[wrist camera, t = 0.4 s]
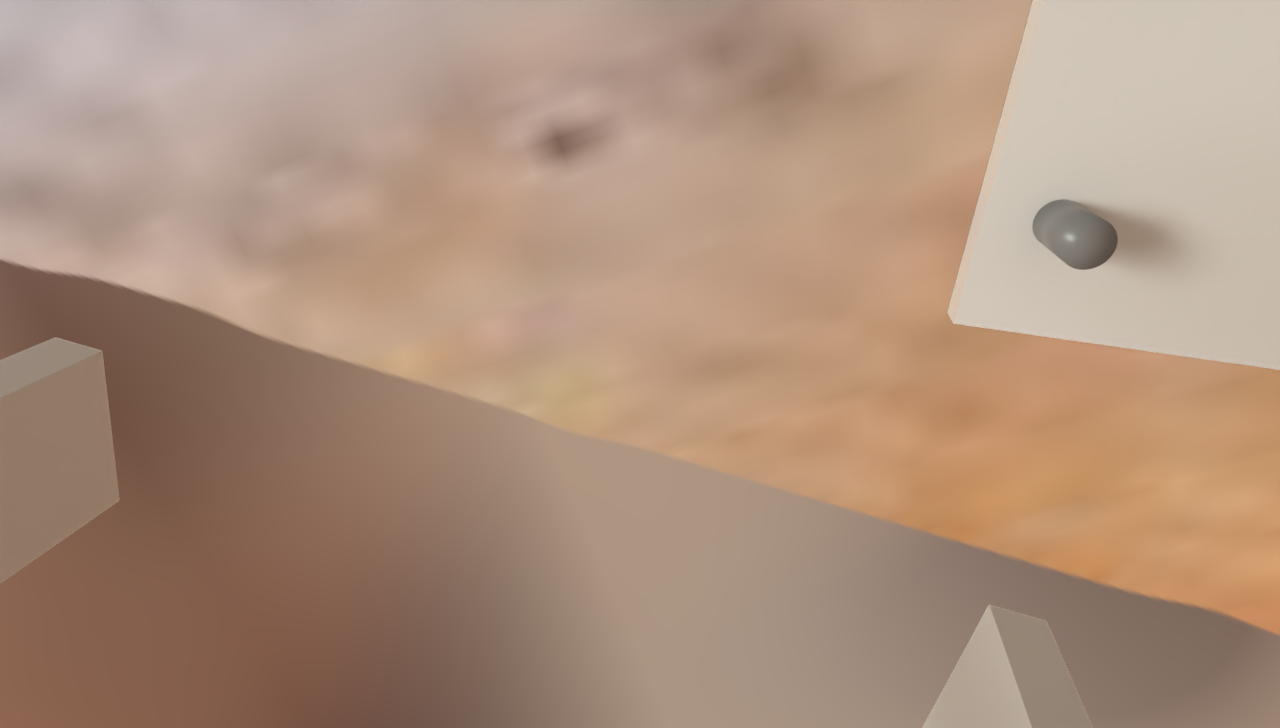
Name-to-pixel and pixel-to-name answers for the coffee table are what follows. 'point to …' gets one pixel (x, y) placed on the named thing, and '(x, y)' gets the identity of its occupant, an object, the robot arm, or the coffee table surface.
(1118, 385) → the coffee table surface
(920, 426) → the coffee table surface
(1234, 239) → the stub plate
